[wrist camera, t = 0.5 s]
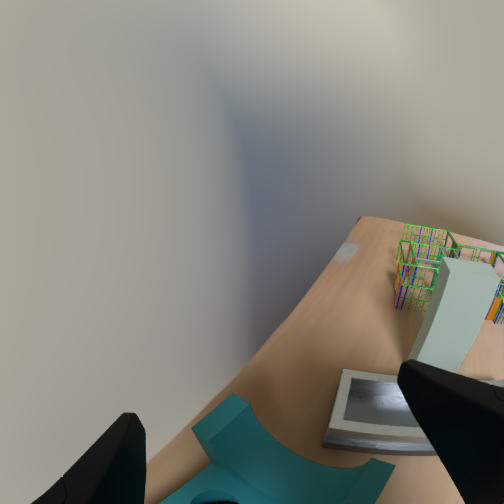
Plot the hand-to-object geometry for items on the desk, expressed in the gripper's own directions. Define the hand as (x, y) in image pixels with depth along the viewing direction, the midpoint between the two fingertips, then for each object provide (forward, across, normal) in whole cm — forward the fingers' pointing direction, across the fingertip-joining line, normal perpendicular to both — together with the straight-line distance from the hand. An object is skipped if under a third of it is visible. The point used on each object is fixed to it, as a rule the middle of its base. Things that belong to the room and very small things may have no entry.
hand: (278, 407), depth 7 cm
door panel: (+11, -20, +15) cm, 28 cm away
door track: (+5, -16, +16) cm, 24 cm away
